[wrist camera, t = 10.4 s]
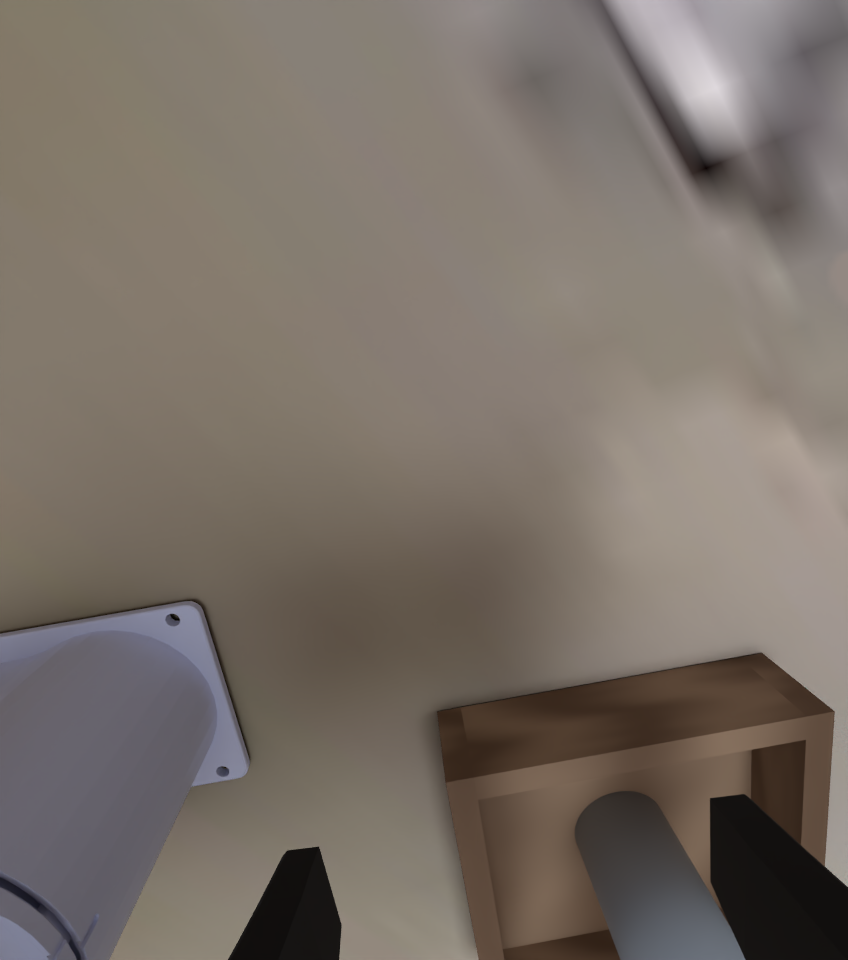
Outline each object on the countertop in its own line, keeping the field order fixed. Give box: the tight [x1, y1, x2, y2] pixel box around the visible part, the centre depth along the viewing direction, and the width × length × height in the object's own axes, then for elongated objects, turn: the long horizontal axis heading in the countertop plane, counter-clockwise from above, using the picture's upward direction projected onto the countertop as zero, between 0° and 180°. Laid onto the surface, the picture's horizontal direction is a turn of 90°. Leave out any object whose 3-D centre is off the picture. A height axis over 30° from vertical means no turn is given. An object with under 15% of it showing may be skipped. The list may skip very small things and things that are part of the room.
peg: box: [575, 791, 746, 960], centre depth 18 cm, size 4×4×8 cm
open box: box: [437, 653, 835, 960], centre depth 20 cm, size 14×14×4 cm
